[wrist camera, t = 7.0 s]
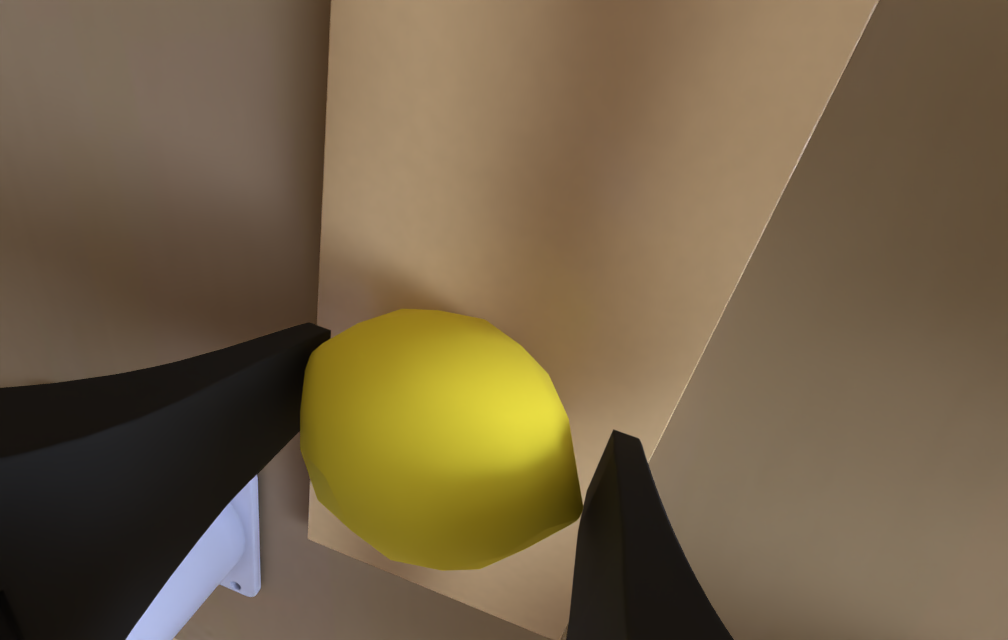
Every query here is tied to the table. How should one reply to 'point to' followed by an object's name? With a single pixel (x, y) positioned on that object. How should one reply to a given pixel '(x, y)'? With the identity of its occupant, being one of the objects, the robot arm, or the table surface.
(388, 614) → the table surface
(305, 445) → the lemon
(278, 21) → the table surface
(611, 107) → the birch board
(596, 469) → the robot arm
